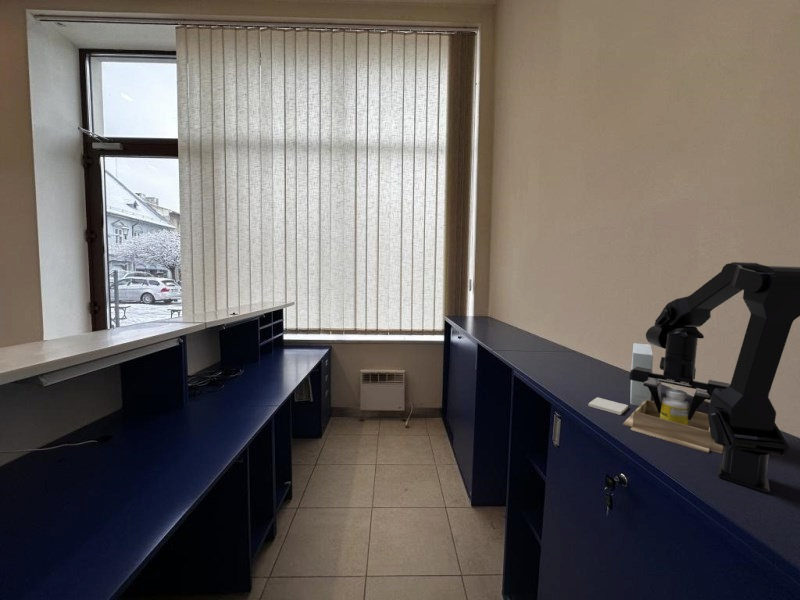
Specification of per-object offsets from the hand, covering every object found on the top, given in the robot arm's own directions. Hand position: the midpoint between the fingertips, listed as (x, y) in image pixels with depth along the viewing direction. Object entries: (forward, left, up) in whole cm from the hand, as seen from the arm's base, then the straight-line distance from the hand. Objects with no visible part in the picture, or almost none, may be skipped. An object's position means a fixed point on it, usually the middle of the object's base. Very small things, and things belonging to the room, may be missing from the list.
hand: (674, 415), depth 81 cm
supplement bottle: (0, 0, -4) cm, 4 cm away
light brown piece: (0, 0, -4) cm, 4 cm away
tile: (+4, +15, -4) cm, 16 cm away
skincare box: (+23, +11, -4) cm, 26 cm away
